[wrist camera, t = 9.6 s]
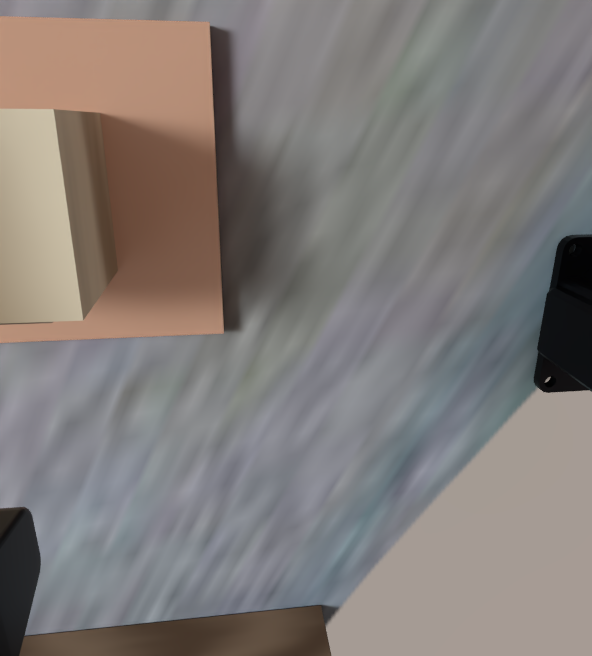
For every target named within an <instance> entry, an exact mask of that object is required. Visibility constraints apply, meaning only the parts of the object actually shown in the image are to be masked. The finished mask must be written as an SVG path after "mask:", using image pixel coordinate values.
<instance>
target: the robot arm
mask: <svg viewBox="0 0 592 656" xmlns="http://www.w3.org/2000/svg"><path fill="white" fill-rule="evenodd" d="M574 244H575V250H574V252H573V253H571V254H569V249H570V247H571V246H572V245H574ZM537 349H538V351H539V352H538V357H537V363H536V369H535V374H534V383H535V385H536V386H537V387H538V388H539V389H540V390H542V391H543V392H548V393H550V392H566V391H582V390H590V391H592V235H570V236H566V237H565V238H563V239H562V240H561V241H560V242H559V244H558V247H557V251H556V256H555V262H554V268H553V273H552V279H551V285H550V290H549V292H548V293H547V297H546V302H545V308H544V314H543V319H542V325H541V331H540V336H539V342H538V348H537ZM550 376H551V378H550V380H549V381H548V382H546V383H544V382H545V380H546V379H547V378H548V377H550ZM40 564H41V559H40V551H39V546H38V542H37V537H36V532H35V527H34V522H33V517H32V514H31V512H30V511H29V509H27V508H25V507H15V508H1V509H0V656H19V655H20V651H21V647H22V643H23V639H24V635H25V631H26V627H27V623H28V619H29V614H30V610H31V606H32V602H33V598H34V594H35V590H36V586H37V582H38V578H39V573H40Z"/></svg>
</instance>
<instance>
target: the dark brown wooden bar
mask: <svg viewBox="0 0 592 656" xmlns="http://www.w3.org/2000/svg"><path fill="white" fill-rule="evenodd" d="M19 656H331V652H330V647H329V642H328V637H327V632H326V627H325V623H324V618H323V613H322V608H321V605H319V606H310V607H300V608H291V609H281V610H272V611H262V612H253V613H243V614H234V615H224V616H215V617H205V618H196V619H186V620H177V621H167V622H158V623H148V624H139V625H129V626H119V627H110V628H100V629H91V630H81V631H72V632H62V633H53V634H43V635H34V636H24V639H23V643H22V647H21V651H20V655H19Z"/></svg>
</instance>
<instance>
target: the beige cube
mask: <svg viewBox="0 0 592 656" xmlns="http://www.w3.org/2000/svg"><path fill="white" fill-rule="evenodd" d="M117 271H118V266H117V258H116V249H115V240H114V231H113V222H112V213H111V204H110V195H109V186H108V177H107V169H106V160H105V151H104V142H103V133H102V124H101V115H100V113H96V112H83V111H70V110H57V109H0V325H10V324H38V323H53V322H58V321H83V320H84V319H85V317H86V316H87V314H88V313H89V312H90V310H91V309H92V307H93V306H94V304H95V303H96V302H97V300H98V299H99V297H100V296H101V294H102V293H103V291H104V290H105V289H106V287H107V286H108V284H109V283H110V281H111V280H112V279H113V277H114V276H115V274H116V273H117Z"/></svg>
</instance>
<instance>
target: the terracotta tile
mask: <svg viewBox="0 0 592 656" xmlns="http://www.w3.org/2000/svg"><path fill="white" fill-rule="evenodd" d="M0 109H57V110H70V111H83V112H96V113H100V115H101V124H102V133H103V142H104V151H105V160H106V169H107V177H108V186H109V195H110V204H111V213H112V222H113V231H114V240H115V249H116V258H117V266H118V271H117V273H116V274H115V276H114V277H113V279H112V280H111V281H110V283H109V284H108V286H107V287H106V289H105V290H104V291H103V293H102V294H101V296H100V297H99V299H98V300H97V302H96V303H95V304H94V306H93V307H92V309H91V310H90V312H89V313H88V314H87V316H86V317H85V319H84V320H83V321H58V322H53V323H38V324H10V325H0V343H9V342H33V341H56V340H80V339H104V338H127V337H151V336H175V335H198V334H222V333H224V322H223V300H222V278H221V257H220V235H219V213H218V192H217V170H216V148H215V127H214V105H213V83H212V61H211V40H210V23H209V22H190V21H153V20H116V19H79V18H42V17H5V16H0Z"/></svg>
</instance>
